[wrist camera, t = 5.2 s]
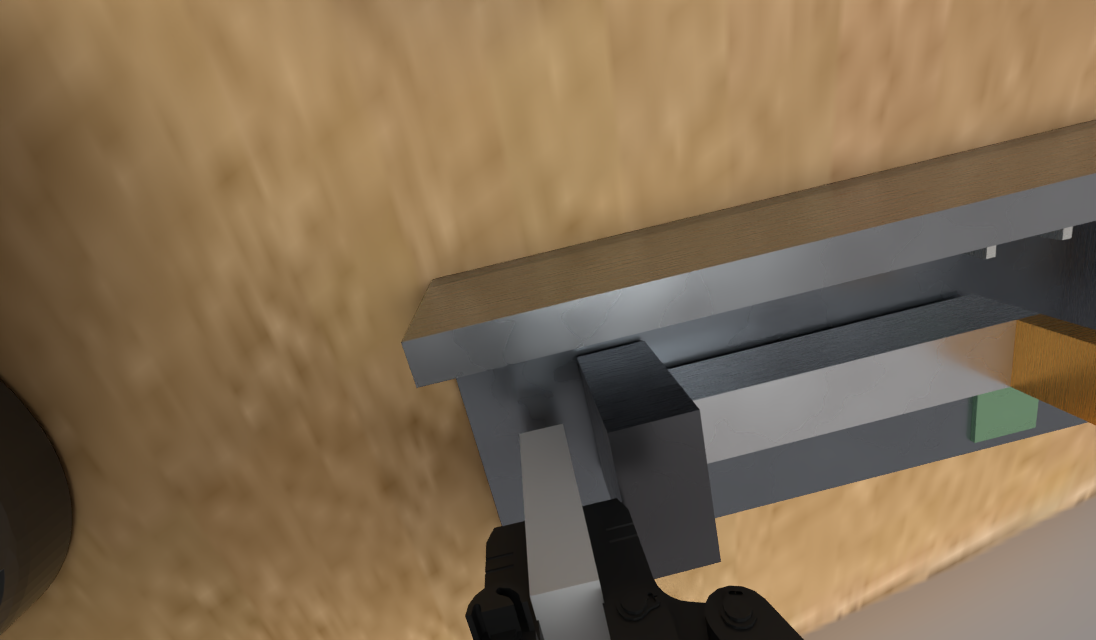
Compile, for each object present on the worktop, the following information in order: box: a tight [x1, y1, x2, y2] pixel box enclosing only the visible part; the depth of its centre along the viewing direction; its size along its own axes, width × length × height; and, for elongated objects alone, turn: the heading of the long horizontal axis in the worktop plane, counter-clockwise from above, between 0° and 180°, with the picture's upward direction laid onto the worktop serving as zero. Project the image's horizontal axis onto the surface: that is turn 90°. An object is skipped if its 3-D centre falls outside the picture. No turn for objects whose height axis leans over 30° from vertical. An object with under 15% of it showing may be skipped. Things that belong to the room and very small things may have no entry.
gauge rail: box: [401, 120, 1096, 526], centre depth 16 cm, size 25×12×7 cm, turn 103°
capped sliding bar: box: [577, 294, 1096, 579], centre depth 16 cm, size 14×5×6 cm, turn 103°
